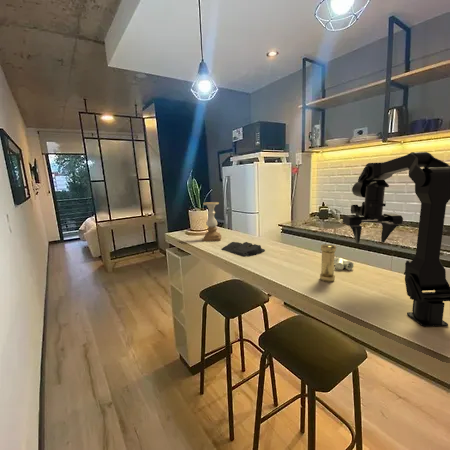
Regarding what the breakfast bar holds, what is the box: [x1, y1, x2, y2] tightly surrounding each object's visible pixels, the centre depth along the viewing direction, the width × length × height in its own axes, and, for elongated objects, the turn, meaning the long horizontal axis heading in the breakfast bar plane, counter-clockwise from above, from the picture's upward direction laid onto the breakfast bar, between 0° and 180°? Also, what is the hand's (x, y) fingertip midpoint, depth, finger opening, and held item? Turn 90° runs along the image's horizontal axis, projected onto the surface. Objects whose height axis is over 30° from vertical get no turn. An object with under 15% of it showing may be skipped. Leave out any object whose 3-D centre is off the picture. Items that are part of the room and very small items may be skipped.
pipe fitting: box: [334, 256, 355, 271], centre depth 112 cm, size 8×4×7 cm
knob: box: [319, 244, 337, 283], centre depth 99 cm, size 5×5×13 cm
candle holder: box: [202, 201, 222, 242], centre depth 170 cm, size 11×11×24 cm
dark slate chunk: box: [221, 241, 266, 257], centre depth 143 cm, size 15×22×5 cm
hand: (370, 242), depth 95 cm, fingers open, 9 cm apart
